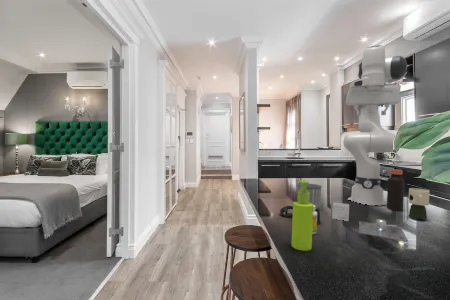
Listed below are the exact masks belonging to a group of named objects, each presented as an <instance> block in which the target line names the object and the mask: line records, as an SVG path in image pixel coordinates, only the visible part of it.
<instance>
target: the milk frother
mask: <svg viewBox="0 0 450 300" xmlns="http://www.w3.org/2000/svg"><path fill="white" fill-rule="evenodd" d="M297 186H298V191H300V190H301V183H298V184H297ZM322 188H323V185H320V184H316V183H309V184H307V191H308V192H309V203H312V204H313V205H315V206H316V209H315V211H316V212H317V225H319V224H321V196H322ZM289 210H291V211H293V205H285V206H283V207H282V208H280V210H279V213H280V215H282V216H284V217H286V218H292V217H293V213H289V214H288V211H289Z"/></svg>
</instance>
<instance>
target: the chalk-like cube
mask: <svg viewBox="0 0 450 300" xmlns="http://www.w3.org/2000/svg"><path fill="white" fill-rule="evenodd" d="M349 218H350V204H349V203H341V202H333V204H332V212H331V219H332V220H336V219H337V220H338V221H342V220H344V222H349Z"/></svg>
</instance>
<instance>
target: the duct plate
mask: <svg viewBox="0 0 450 300" xmlns="http://www.w3.org/2000/svg"><path fill="white" fill-rule="evenodd" d="M358 224H359V226H358V228H359V234H363V235H368V236H374V237H379V238H386V239H390V240H397V241H403V242H409V239H408V238H407V236H406V234H405V233H404V232H405V231H404V230H403V229H402V227H399V226H392V225H387V220H386V219H381V218H377V219H376V223H373V222H367V221H360V220H359V221H358Z"/></svg>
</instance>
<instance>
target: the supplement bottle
mask: <svg viewBox="0 0 450 300" xmlns="http://www.w3.org/2000/svg"><path fill="white" fill-rule="evenodd" d="M315 209H316V206H315V205H313V228H312V235H316V234H317V232H318V224H317V212H316V211H315Z"/></svg>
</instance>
